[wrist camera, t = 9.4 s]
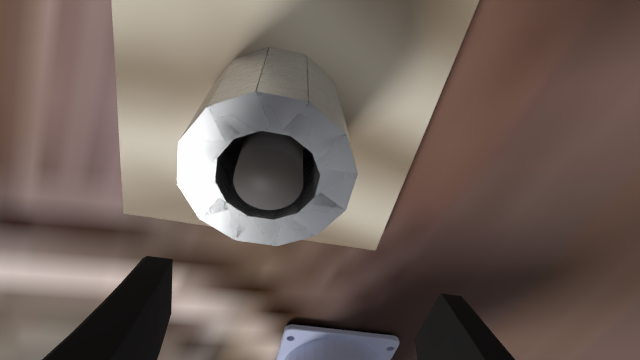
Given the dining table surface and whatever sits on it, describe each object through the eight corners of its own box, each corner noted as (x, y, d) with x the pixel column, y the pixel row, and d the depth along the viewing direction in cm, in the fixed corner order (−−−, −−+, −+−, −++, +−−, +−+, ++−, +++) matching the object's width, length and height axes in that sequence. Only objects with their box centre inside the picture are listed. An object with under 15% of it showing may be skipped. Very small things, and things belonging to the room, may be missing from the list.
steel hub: (324, 179, 18) (331, 253, 14) (206, 159, 17) (175, 232, 13) (356, 65, 15) (376, 115, 11) (216, 34, 14) (179, 75, 10)
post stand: (372, 238, 21) (394, 330, 16) (131, 201, 19) (71, 294, 14) (472, -12, 15) (562, 15, 10) (118, -109, 13) (-4, -139, 8)
